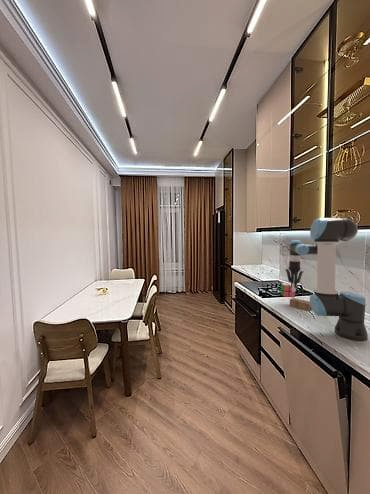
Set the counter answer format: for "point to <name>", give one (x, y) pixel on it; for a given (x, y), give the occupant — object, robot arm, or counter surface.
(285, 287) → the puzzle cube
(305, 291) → the counter surface
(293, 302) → the walnut block
